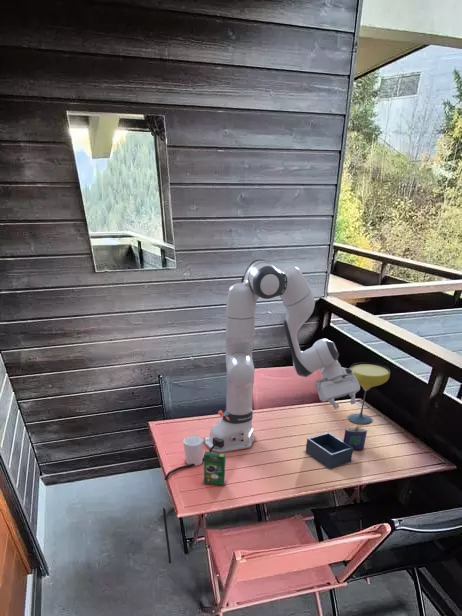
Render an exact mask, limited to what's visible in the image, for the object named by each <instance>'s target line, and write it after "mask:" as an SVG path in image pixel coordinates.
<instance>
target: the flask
mask: <svg viewBox="0 0 462 616" xmlns="http://www.w3.org/2000/svg"><path fill="white" fill-rule="evenodd" d="M367 435H368V430H367V429H366V428H360V427H359V425H356V426H355V428H351V427H349V428H346V429H345V430H344V437H343V440H342V441H343V442H345V443H346V444H348V445H350V446H351V447H353V451H363V450H364V449H365V443H366V439H367Z"/></svg>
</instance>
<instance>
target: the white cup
mask: <svg viewBox="0 0 462 616" xmlns="http://www.w3.org/2000/svg"><path fill="white" fill-rule="evenodd" d="M182 442H183V450H184V457H185V463H186V465H190V464H195V465H194V466H193V467H197V466H200V465H202V463H204V461H203V458H204V438H203V437H200V436H198V435H189V436H186V437H184V439H183V441H182Z"/></svg>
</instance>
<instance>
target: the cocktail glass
mask: <svg viewBox="0 0 462 616" xmlns="http://www.w3.org/2000/svg"><path fill="white" fill-rule="evenodd" d="M349 369H352V370H353V372H354V373H353V374H352V375H354V376H355V377H356V378H357V380H358V382H359V385H360V387H362V389H363V390H364V394H363V399H362V404H361V409H360V412H359V413H353V414H350V415H349V416H348V420H349V421H350V422H351V423H354V424H358V425H367V424H370V423H371V422H372V418H371V417H370V415H369V416H368V415H367V414H363V413H364V411H363V410H364V405H365V399H366V396H367V395H366V394H367V391H369V390H370V389H371V388H375V387H378V386H381V385H383V384H385V383H387V382H388V381H389V379H390V377H391V370H390V369H389V367H387V366H385V365H383V364H380V363H375V362H356V363H352V365H350V367H349Z"/></svg>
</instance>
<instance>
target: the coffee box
mask: <svg viewBox="0 0 462 616" xmlns="http://www.w3.org/2000/svg"><path fill="white" fill-rule="evenodd" d="M203 458H204V461H203V483H204V484H205V485H213V486H214V485H215V486H223V487H224V486H225V482H226V453H225V452H221V453H219V452H215V451H212V452H209V451H205V452H204V453H203Z"/></svg>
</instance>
